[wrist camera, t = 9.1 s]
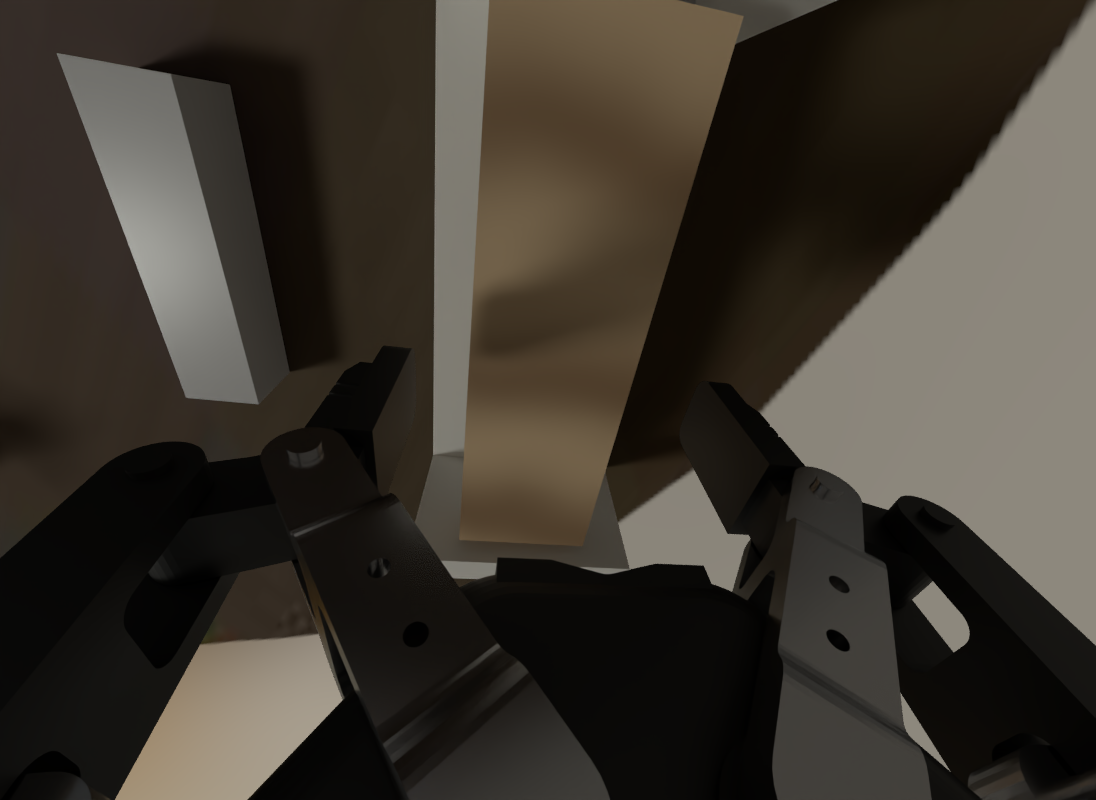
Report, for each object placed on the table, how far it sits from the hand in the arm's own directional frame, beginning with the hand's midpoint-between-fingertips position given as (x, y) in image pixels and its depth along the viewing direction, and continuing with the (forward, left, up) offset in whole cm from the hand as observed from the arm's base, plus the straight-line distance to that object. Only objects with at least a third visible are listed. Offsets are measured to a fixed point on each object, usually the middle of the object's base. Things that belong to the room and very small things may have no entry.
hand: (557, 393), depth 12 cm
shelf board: (0, 0, -5) cm, 5 cm away
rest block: (0, -14, -10) cm, 17 cm away
